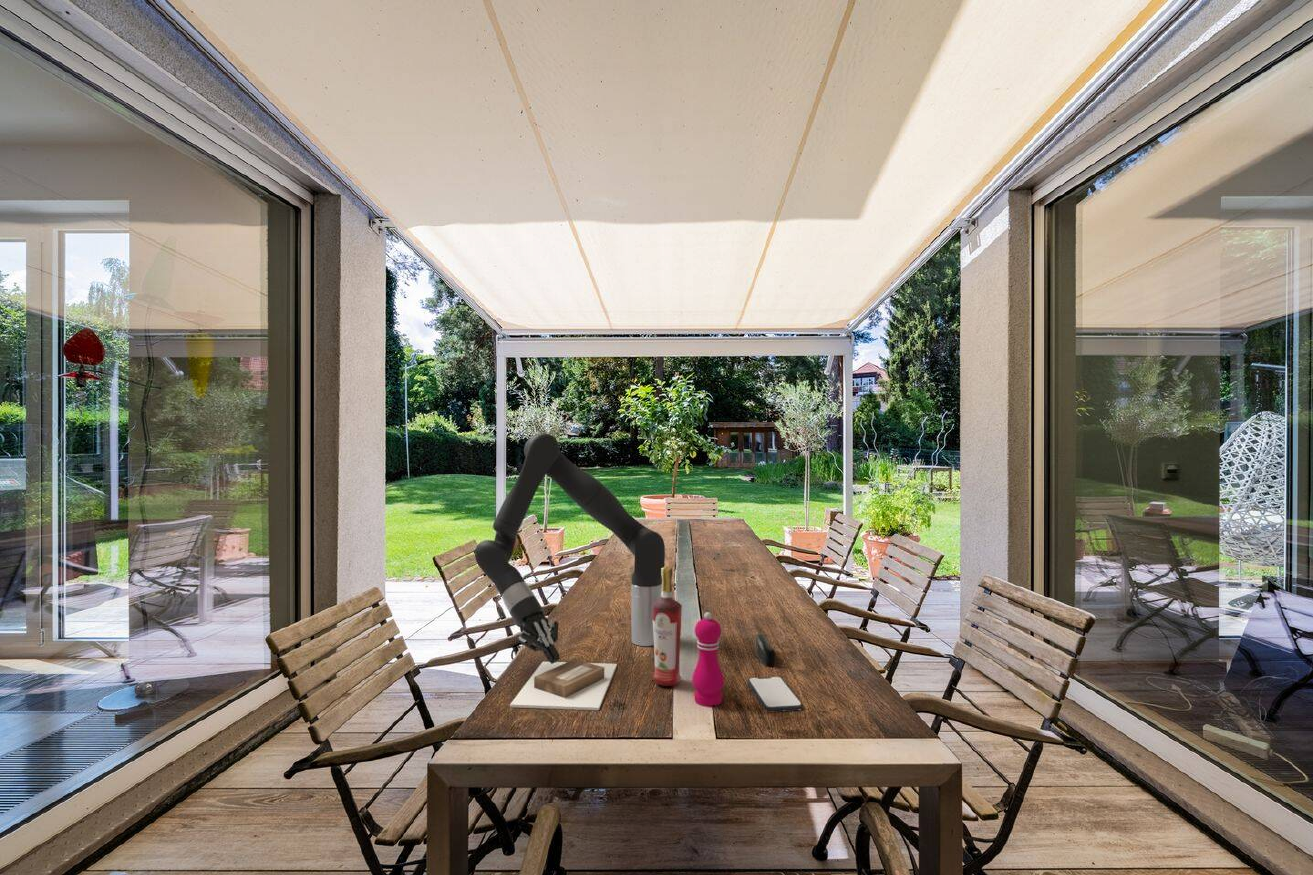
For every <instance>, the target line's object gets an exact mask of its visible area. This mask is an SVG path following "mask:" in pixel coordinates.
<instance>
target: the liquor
mask: <svg viewBox="0 0 1313 875" xmlns="http://www.w3.org/2000/svg"><path fill="white" fill-rule="evenodd" d="M661 576H662V591H661V600H659V601H656V602H655V603H654V604H653V605H652V616H653V636H654V646H653V651H654V652H653V653H654V654H653V655H654V675H653V677H652V679H653V681H655V682H656V683H657V684H658V685H659V686H660V685H661V687H664V686H671V687H674V686H676V685H677V684H678V683H679V682H680V681H681V679H682V677H681V674H680V655H681V654H680V653H681V651H680V650H681V634H682V632H681V631H682V609H683V608H682V607H683V605H682V604H681V603H680V602H678V601H677V600H675V599H674V597H673V587H672V580H673V579H672V578H673V567H670V566H669V567H666V566H664V568H661Z"/></svg>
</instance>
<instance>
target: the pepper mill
mask: <svg viewBox="0 0 1313 875" xmlns="http://www.w3.org/2000/svg"><path fill="white" fill-rule="evenodd" d="M712 617H713V616H712V613H711V612H707V611H706V612H705V613H704V615H703V618H701V619H700V620H699V621H697V622H696V624H695V627H694V635H695V636H696V638H697V640H696V643H697V644H696V647H697V648H698V660H697V663H696V666H695V668H694V671H693V674H692V685H693V687H694V688H695V691H694V701H695V703H696V704H698V705H701V706H704V707H714V706H713V705H715V706H718V705H720V704H722V702H723V693H722V691H721V690H722V689H723V687H724V685H725V678H724V674H723V672H722V669H721V665H720V664H719V659H718V649H719V648H720V641H719V638H720V637H721V634H722V629H721V625H720V623H719V622H718V621H717V620H716V619H713V618H712ZM717 704H718V705H717Z"/></svg>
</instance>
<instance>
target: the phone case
mask: <svg viewBox="0 0 1313 875" xmlns="http://www.w3.org/2000/svg"><path fill="white" fill-rule="evenodd" d="M747 686H748V687H749V689H750V690H751V692H752V693H753V695H754V694H755V695H754V696H755V698H756V697H757V698H756V699H757V701H758V700H759V701H758V702H759V703H761V704H762V705H761V704H760V705H761V707H762V706H763V707H764V708H763V707H762V708H763V710H764V709H765V710H767V711H766V712H768V711H771V712H770V713H773V712H772V711H782V712H784V711H783V710H786V711H785V712H789V711H788V710H798V709H802V708H803V709H804V705H803V703H802V702H801V700H800V699H799V698H798V697H797V695H796V694H795V693H794V692H793V690H792V689H791V688H790V687H789V685H788V684H787V683H786V681H785V680H784V679H783V678H782V677H780V676H763V677H749V678H748V679H747ZM803 709H802V710H803ZM765 710H764V711H765Z"/></svg>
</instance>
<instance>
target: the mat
mask: <svg viewBox="0 0 1313 875" xmlns="http://www.w3.org/2000/svg"><path fill="white" fill-rule="evenodd" d="M567 662H568V661H563V662H562V661H557V662H555V663H553V664H551V663H550V662H549V661H542V662H541V663H540V664H539V666H538V667H537V668H536V670H535V671H534V672H533V674H531V676H530V678H529V679H528V680H527V682H526V683H525V684H524V685H523V686H522V688H521V690H520V691H519V692H518V693H517V695H516V696H515V698H513V700H512V702H511V703H510V704H509V708H516V709H517V708H519V709H520V708H523V709H543V710H544V709H550V710H572V709H573V710H577V711H599V710H600V709H601V705H602V704H603V701H604V698H605V697H606V694H607V691H608V689H609V687H610V684H611V682H612V678H613V676H614V674H615V671H616V670H617V666H618V664H617V663H603V662H602V663H601V662H589V663H590V664H594V665H597V666H601V667H604V678H603V679H601V680H600V681H598V682H596V683H594V684H592V685H590V686H588V687H586V688H584V689H582V690H580V691H578V692H576V693H574V694H572V695H570V696H568V697H566V698H563V697H560V696H557V695H554V694H551V693H548V692H545V691H542V690H539V689H536V688H534V677H535V676H537V675H540V674H542V673H544V672H546V671H549V670H551V669H553V668H556V667H558V666H560V665H562V664H565V663H567Z"/></svg>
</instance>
